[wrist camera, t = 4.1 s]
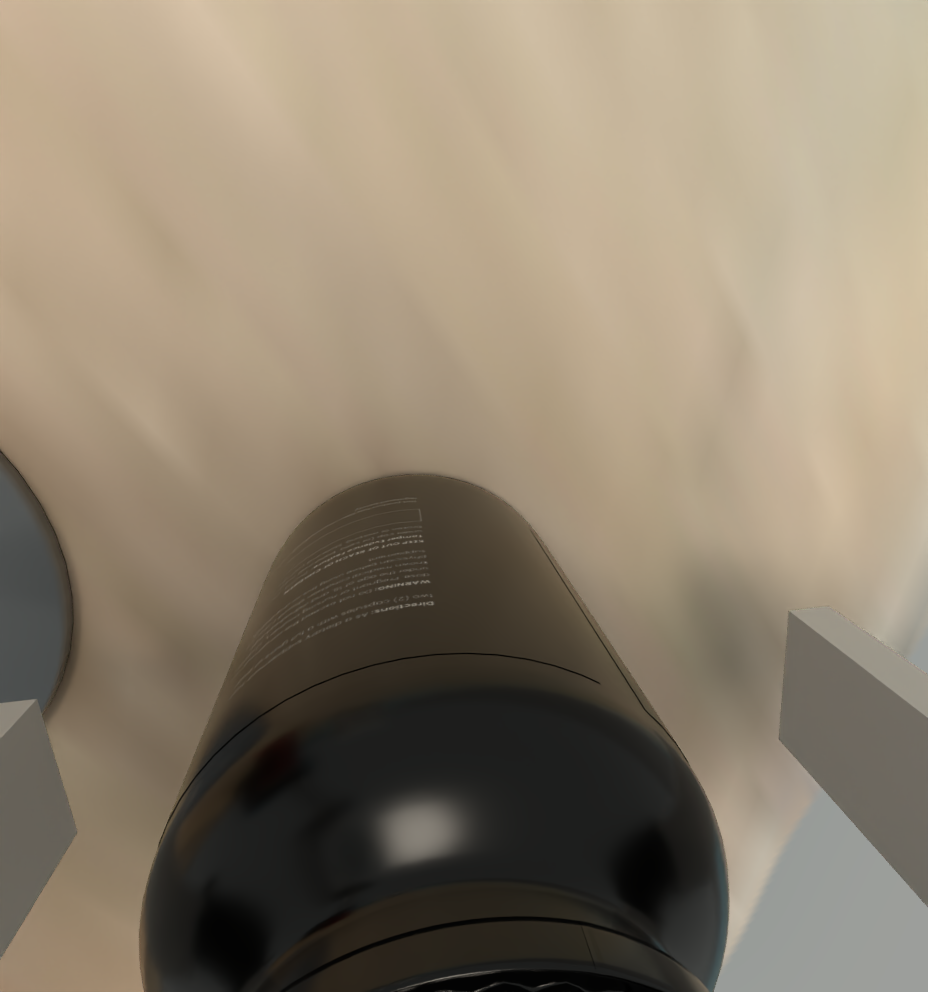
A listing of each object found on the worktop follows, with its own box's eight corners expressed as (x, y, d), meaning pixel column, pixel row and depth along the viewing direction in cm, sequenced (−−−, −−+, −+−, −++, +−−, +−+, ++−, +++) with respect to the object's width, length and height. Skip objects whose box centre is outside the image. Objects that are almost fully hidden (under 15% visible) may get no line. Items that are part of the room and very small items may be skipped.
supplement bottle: (261, 724, 16) (-77, 1826, 4) (274, 452, 14) (-254, 1130, 3) (534, 735, 17) (843, 1662, 5) (580, 482, 15) (1203, 1070, 3)
